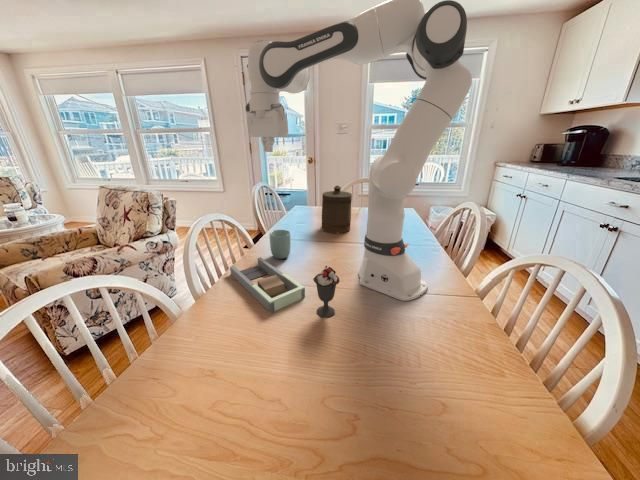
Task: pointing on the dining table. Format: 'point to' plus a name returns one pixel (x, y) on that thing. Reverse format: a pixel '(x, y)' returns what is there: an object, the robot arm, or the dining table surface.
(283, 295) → the box
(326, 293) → the sundae
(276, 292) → the block
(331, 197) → the wooden container
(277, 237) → the cup
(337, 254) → the dining table surface
